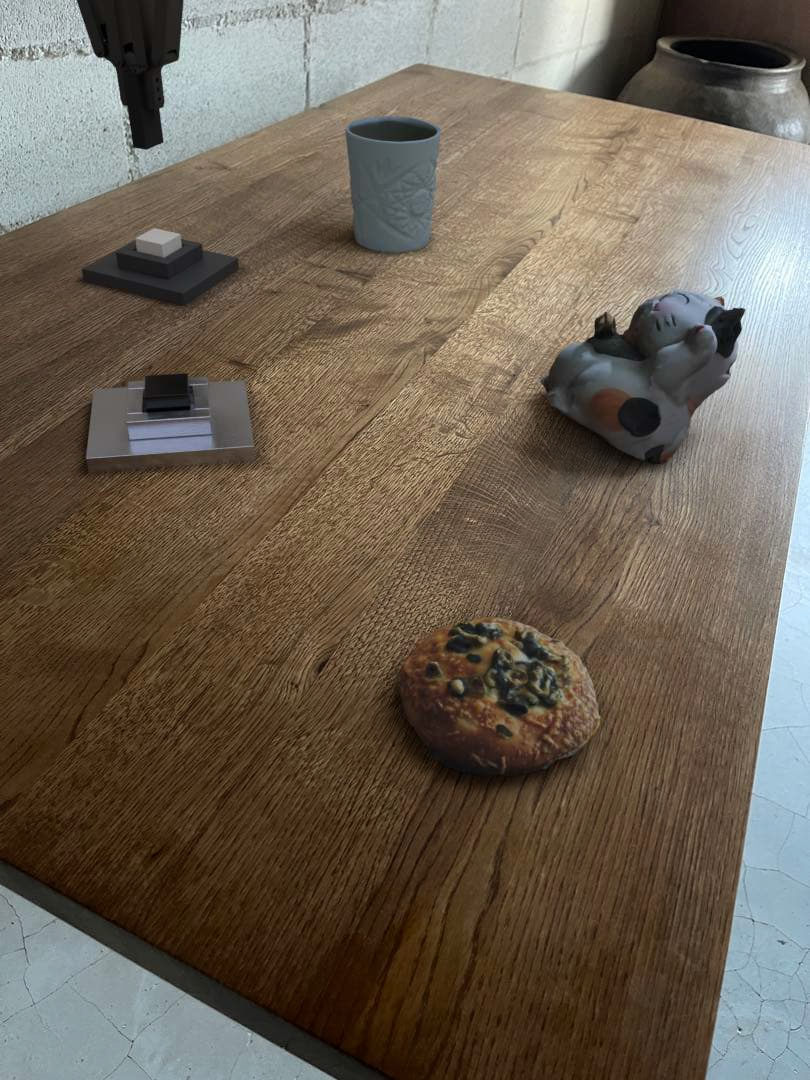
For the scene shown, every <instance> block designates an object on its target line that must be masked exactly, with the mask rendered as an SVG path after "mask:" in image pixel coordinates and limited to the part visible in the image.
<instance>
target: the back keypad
mask: <svg viewBox="0 0 810 1080" xmlns="http://www.w3.org/2000/svg"><path fill="white" fill-rule="evenodd" d="M181 244H182V248H180V249H178V250H176V251H175V252H173V253H171V254H170V255H168V256H166V257H165V258H164V257H159V256H155V255H151V254H146V253H142V252H138V251H137V247H136V240H135V239H134V240H132V241H130V242H129V243H127V244H125V245H122V246H121V247H119V248H118V249H117V248H116V249H115V250H114V251H112V252H110V253H108V254H106V255H104V256H103V257H102V256H101V258H98V259H97V260H95V261H93V262H91V263H89V264H88V265H86V266H84V267H82V268H81V274H82V277H83V282H86V283H90V284H94V285H98V286H103V287H106V288H111V289H114V290H119V291H123V292H127V293H131V294H135V295H138V296H143V297H147V298H152V299H155V300H160V301H163V302H168V303H171V304H176V305H180V306H186V305H188V304H190V303H191V302H193V301H194V300H196V299H197V298H199V297H200V296H202V295H204V294H205V293H206V292H208V291H210V290H211V289H213V288H214V287H215V286H217V285H219V284H220V283H222V282H224V280H225V279H227V278H229V277H230V276H232V275H234V274H235V273H236V272H238V271H239V270H240V268H239V267H240V266H239V265H240V264H239V258H238V257H236V256H232V255H227V254H223V253H219V252H215V251H209V250H205V249H203V244H202V242H197V241H193V240H189V239H184V238H181Z"/></svg>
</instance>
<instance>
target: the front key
mask: <svg viewBox="0 0 810 1080" xmlns="http://www.w3.org/2000/svg"><path fill="white" fill-rule="evenodd" d="M188 378H189V373H187V372H186V373H185V372H184V373H167V374H152V375H144V380H145V392H144V398H145V404H146V411H147V413H151V412H166V411H181V410H191V406H190V388H189V379H188Z"/></svg>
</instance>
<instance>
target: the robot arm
mask: <svg viewBox="0 0 810 1080" xmlns="http://www.w3.org/2000/svg"><path fill="white" fill-rule="evenodd" d="M184 1H185V0H76V3H77V6H78V9H79V13H80V15H81V18H82V21H83V24H84V28H85V30H86V33H87V36H88V39H89V42H90V45H91V47H92V51H93V54H94V55H95V57H96V58H98V59H105V60H107V61H108V62H110V63H111V65H112V66H113V67H114V69H115V72H116V73H115V74H116V79H117V85H118V86H117V87H118V92H119V98H120V102H121V104H122V106H124V107H126V108H127V114H128V121H129V128H130V129H129V130H130V136H131V142H132V148H134V149H139V150H145V151H148V150H150V149H152V148H154V147H156V146H160V145H162V144H164V135H163V133H164V132H163V126H162V117H161V111H160V109H162V108H164V106H165V102H166V101H165V95H164V86H163V75H162V69H163V68H164V66H165V67H166V66H167V65H171V64H172V63H175V62H178V61H179V59H180V52H181V37H182V26H183V14H184V13H183V12H184Z"/></svg>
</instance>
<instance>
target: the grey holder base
mask: <svg viewBox="0 0 810 1080" xmlns="http://www.w3.org/2000/svg"><path fill="white" fill-rule="evenodd" d="M188 379H189V388H190V406H191V410H181V411H166V412H151V413H147V411H146V404H145V398H144V392H145V379H143V380H130V381H128V382H127V386H126V387H125V386H124V387H123V386H122V387H110V388H109V387H108V388H107V387H105V388H93V393H92V400H91V401H92V402H91V410H90V411H91V412H90V418H89V428H88V436H87V446H86V453H85V462H86V466H87V470H88V474H98V473H99V474H101V473H112V472H113V473H114V472H125V471H126V472H127V471H138V470H151V469H153V470H154V469H162V468H163V469H165V468H176V467H190V466H200V465H201V466H203V465H204V466H205V465H216V464H229V463H242V462H243V463H244V462H255V461H256V453H255V443H254V436H253V435H254V434H253V427H252V420H251V413H250V407H249V406H250V405H249V399H248V398H249V397H248V392H247V385H246V379H240V380H239V379H237V380H223V381H209V377H208V376H197V377H188Z"/></svg>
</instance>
